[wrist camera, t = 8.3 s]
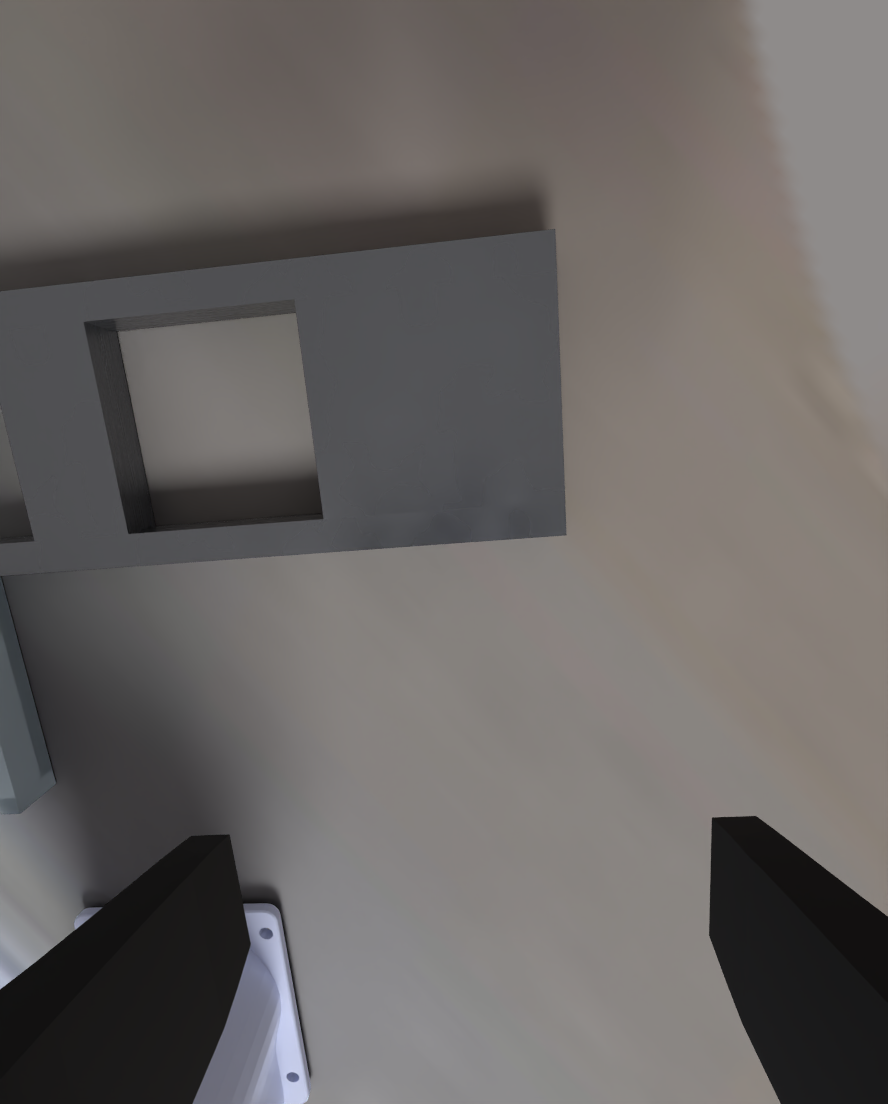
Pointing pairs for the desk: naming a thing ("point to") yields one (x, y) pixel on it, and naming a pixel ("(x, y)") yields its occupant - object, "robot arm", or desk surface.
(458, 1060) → the desk surface
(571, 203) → the desk surface
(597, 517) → the desk surface
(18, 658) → the parts tray
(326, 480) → the rail
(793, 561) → the desk surface
